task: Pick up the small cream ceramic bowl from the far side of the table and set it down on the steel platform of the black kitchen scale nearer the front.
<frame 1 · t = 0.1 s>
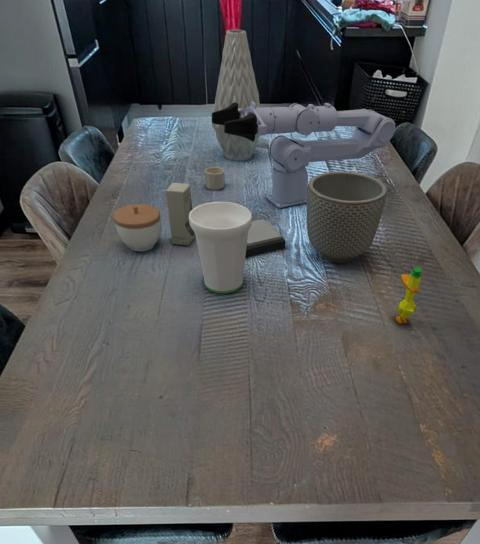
hand: (218, 122, 112), 22 cm above the table, tool horizontal, fingers open, 7 cm apart
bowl: (215, 186, 140), on the table
planter: (337, 255, 114), on the table
vase: (238, 156, 158), on the table
scale: (252, 242, 117), on the table
toy figure: (400, 320, 97), on the table
cup: (223, 284, 104), on the table
trinket box: (142, 245, 115), on the table
box: (183, 241, 117), on the table
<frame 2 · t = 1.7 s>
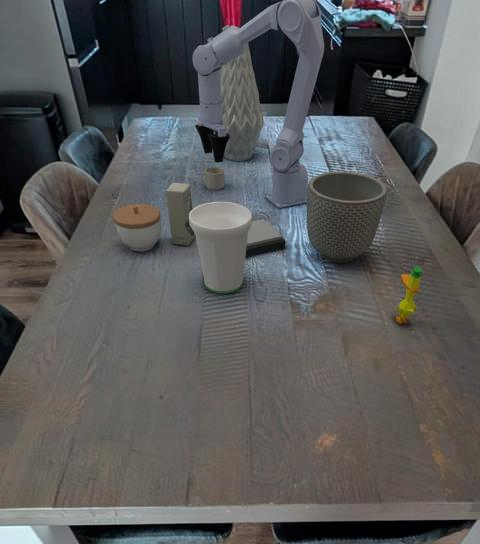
hand: (213, 157, 134), 8 cm above the table, tool pointing down, fingers open, 7 cm apart
nothing on the table moved.
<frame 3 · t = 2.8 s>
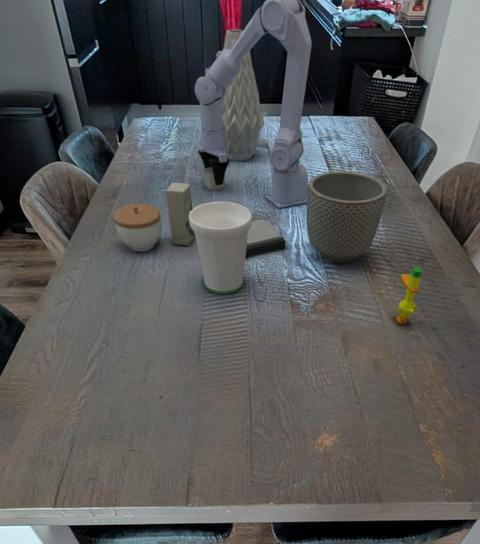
hand: (214, 180, 139), 2 cm above the table, tool pointing down, fingers closed on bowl, 6 cm apart
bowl: (215, 186, 140), on the table, touching gripper
everything else where it was.
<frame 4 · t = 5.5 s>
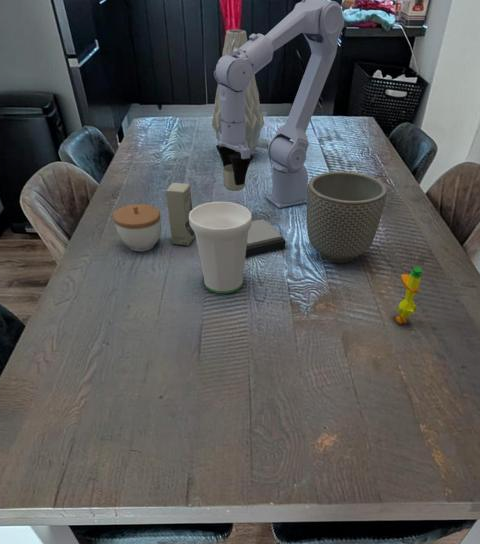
hand: (234, 179, 121), 9 cm above the table, tool pointing down, fingers closed on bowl, 6 cm apart
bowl: (234, 187, 123), point 7 cm above the table, touching gripper
everything else where it was.
when the fingers open (5 cm above the table, at t = 8.3 s): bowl stays where it is, resting on scale.
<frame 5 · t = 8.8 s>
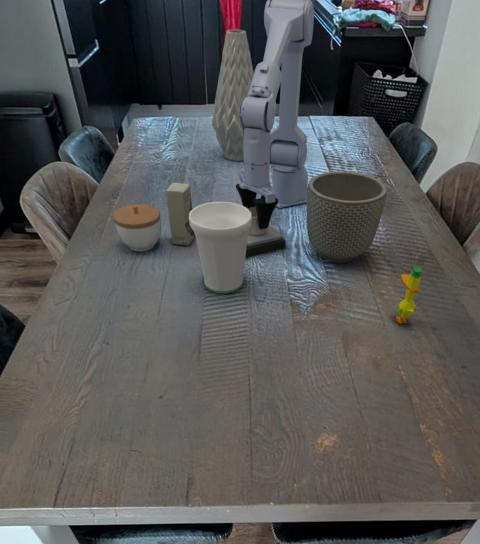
hand: (256, 221, 114), 5 cm above the table, tool pointing down, fingers open, 7 cm apart
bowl: (255, 230, 116), point 3 cm above the table, touching scale
everything else where it was.
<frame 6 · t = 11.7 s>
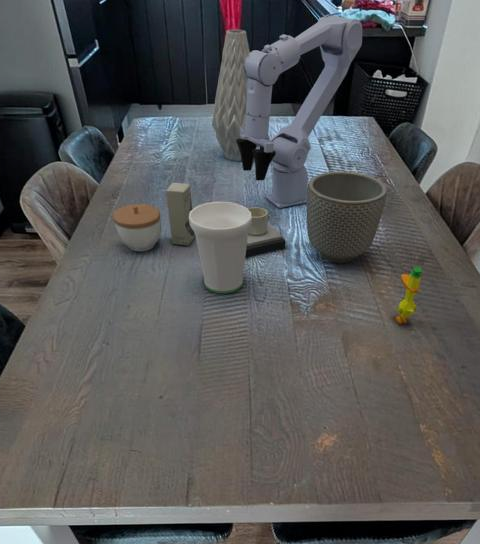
hand: (253, 174, 122), 9 cm above the table, tool pointing down, fingers open, 7 cm apart
nothing on the table moved.
at the end: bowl inside the target area on the scale (0.1 cm from its centre), point 2.8 cm above the scale's base; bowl tilted 0° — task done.
